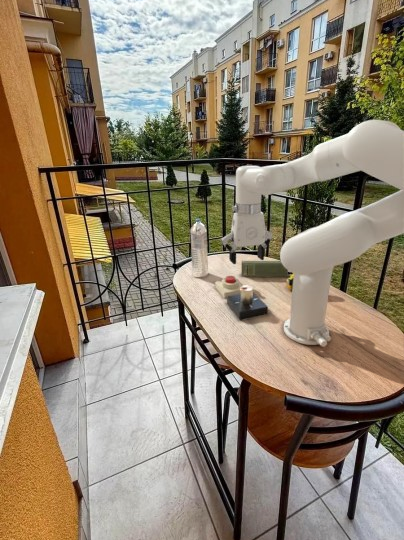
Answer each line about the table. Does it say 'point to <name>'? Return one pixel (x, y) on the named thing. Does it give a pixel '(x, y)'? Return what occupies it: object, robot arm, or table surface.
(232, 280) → the button
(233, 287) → the button box
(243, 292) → the knob
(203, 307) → the table surface
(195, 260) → the water bottle
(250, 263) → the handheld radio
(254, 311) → the control panel
